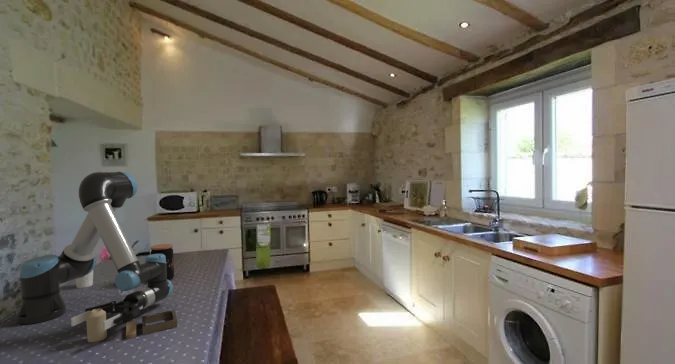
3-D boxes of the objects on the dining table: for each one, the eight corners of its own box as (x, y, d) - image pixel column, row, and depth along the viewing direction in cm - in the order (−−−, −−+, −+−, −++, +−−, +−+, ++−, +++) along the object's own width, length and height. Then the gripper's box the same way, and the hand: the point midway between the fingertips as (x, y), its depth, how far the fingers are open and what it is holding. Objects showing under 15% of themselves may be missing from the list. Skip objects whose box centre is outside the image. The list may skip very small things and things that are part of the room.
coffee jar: (165, 283, 176) (163, 248, 176) (147, 282, 178) (145, 248, 178) (178, 276, 187) (177, 243, 186) (161, 276, 189) (160, 243, 188)
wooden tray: (142, 334, 120) (142, 327, 120) (142, 323, 129) (142, 316, 129) (177, 326, 125) (177, 319, 125) (174, 316, 135) (174, 309, 135)
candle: (92, 344, 114) (90, 314, 114) (84, 340, 117) (82, 311, 116) (110, 337, 119) (108, 308, 118) (102, 333, 122) (100, 305, 121)
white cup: (71, 287, 173) (70, 268, 173) (87, 282, 180) (86, 263, 180) (81, 289, 170) (80, 269, 170) (97, 284, 177) (96, 265, 177)
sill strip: (126, 339, 117) (125, 335, 117) (126, 325, 127) (126, 322, 127) (136, 336, 118) (136, 333, 118) (136, 323, 129) (136, 320, 129)
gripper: (166, 312, 132) (118, 338, 111) (113, 307, 138) (59, 331, 118) (165, 293, 132) (117, 316, 111) (113, 289, 138) (58, 310, 117)
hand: (87, 324), depth 114 cm, fingers open, 13 cm apart
